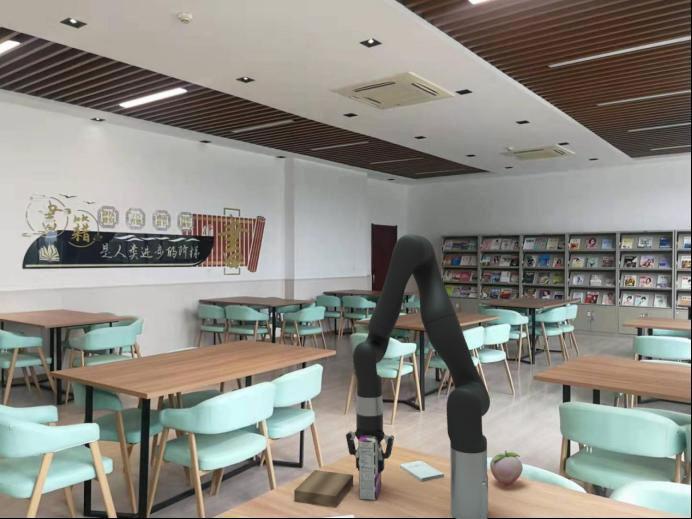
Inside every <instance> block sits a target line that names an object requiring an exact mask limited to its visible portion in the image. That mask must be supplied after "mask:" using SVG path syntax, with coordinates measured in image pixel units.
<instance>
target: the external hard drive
mask: <svg viewBox="0 0 692 519" xmlns="http://www.w3.org/2000/svg"><path fill="white" fill-rule="evenodd" d="M399 468H400V469H401V470H403V471H404V472H406V473H408V474H409V475H410V476H412V477H414V478H415V479H417V480H418V481H419V482H421V483H422V482H426V481H427V482H428V481H432V480H436V479H441V478H445V474H444V473H443V472H441V471H439V470H438V469H436V468H434V467H433V466H431V465H429V464H428V463H425V462H424V461H422V460H417V461H411V462H406V463H401V464H400V465H399Z"/></svg>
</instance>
